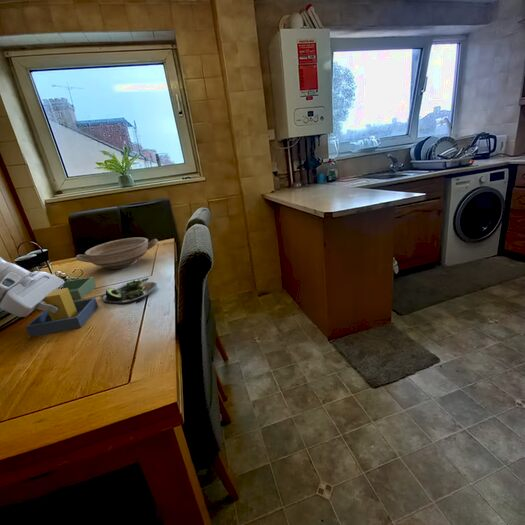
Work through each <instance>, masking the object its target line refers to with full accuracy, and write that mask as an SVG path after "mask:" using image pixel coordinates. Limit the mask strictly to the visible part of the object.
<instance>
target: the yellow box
mask: <svg viewBox="0 0 525 525" xmlns="http://www.w3.org/2000/svg"><path fill="white" fill-rule="evenodd" d="M43 301H44V302H46V304H50V305H54V304H55V305H57V306H59V309H58V311H57V312H56V313H52V312H50V311H48V313H49V315H50V317H51V320H52V321H56V320H62V319H68V318H73V317H76V316H77V315H78V312H77V310H76V307H75V305H74V302H73V301H74V300H72V297H71V295H70V292H69V290H68V288H63V289H57V290H53V291H52V292H51V293H49V294H48V295H47V296H46V297H45V299H43Z"/></svg>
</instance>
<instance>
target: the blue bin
mask: <svg viewBox="0 0 525 525" xmlns="http://www.w3.org/2000/svg"><path fill="white" fill-rule="evenodd" d="M73 302H74V305H75V307H76V310H77V312H78V315H77V316H76V317H73V318H68V319H62V320H56V321H52V320H51V317H50V315H49V313H48V311H44V310H42V312H41V313H40V314H38V315H37V316H36V317H35V318H34V319H32V320H31V321H29V323H28V324H26V326H25V330H26V331H27V334H28V336H29V337H30V338H33V337H39V336H44V335H50V334H54V333H61V332H65V331H71V330H77V329H82V328H83V326H84V325H85V324H86V323H87V322H88V320H89V319H90V318H91V317H92V316H93V314H94V313H95V312H96V311H97V310H98V308H99V305H98V301H97V300H96V297H91V298H84V299H78V300H73Z"/></svg>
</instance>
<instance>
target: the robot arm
mask: <svg viewBox="0 0 525 525" xmlns="http://www.w3.org/2000/svg"><path fill="white" fill-rule="evenodd" d="M64 281H65V280H64V279H63V278H61V277H59V276H56V275H54V274H52V273H49V272H47V271H36V270H34V271H30V270H28V269H26V268H24V267H22V266H20V265H18V264H15V263H13V262H9V261H8V260H7V261H6V260H5V259H4V258H3V257H1V256H0V309H1V310H3V311H5V312H7V313H9V314H11V315H14V316H16V317H19V318H27V317H28V316H29V315H30V314H31V313H33V312H34V311H35V310H36V309H37V310H39V311H50V312H52V313H56V312H57V311H58V309H59V306H57V305H55V304H54V305H50V304H46V302H44V301H43V299H45V297H46V296H47V295H48V294H49V293H51V292H52V291H53V290H57V289H61V288H62V286H63V285H64V283H65V282H64Z"/></svg>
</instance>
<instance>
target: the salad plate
mask: <svg viewBox="0 0 525 525" xmlns="http://www.w3.org/2000/svg"><path fill="white" fill-rule="evenodd" d="M148 280H149V278H148V277H146V278H142V279H140V278H137V280H133V281H130V282H126V284H123V285H121V286H120V287H117V288H112V287H111V288H107V289H106V290H105V293H104V294H101V295H100V296H99V298H101V299H102V302H103V303H104V304H108V305H119V306H122V305H124V306H125V305H130V304H133V303H135V304H137V303H139V302H141V301H143V300H144V299H145V298H147V297H148V296H150V295H151V293H153V292H154V290H155V289H157V287H158V283H157V282H156V281H150V282H149V281H148Z"/></svg>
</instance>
